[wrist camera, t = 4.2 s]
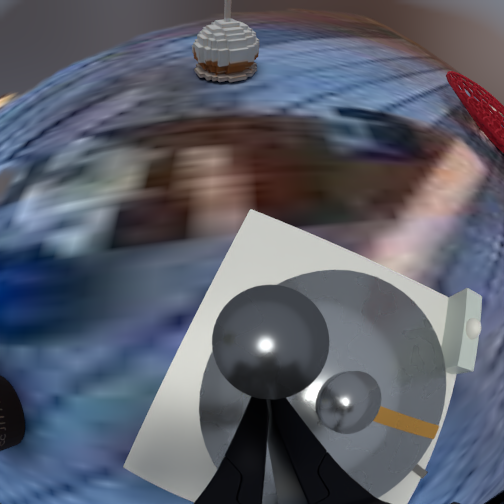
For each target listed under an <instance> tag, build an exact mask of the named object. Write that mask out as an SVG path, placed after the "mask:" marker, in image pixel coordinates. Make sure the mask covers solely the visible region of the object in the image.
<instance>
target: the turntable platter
mask: <svg viewBox="0 0 504 504" xmlns="http://www.w3.org/2000/svg"><path fill="white" fill-rule="evenodd" d="M212 350H213V351H212V353H211V355H210V357H209V360H208V363H207V365H206V368H205V371H204V374H203V379H202V384H201V389H200V399H199V416H200V426H201V431H202V435H203V439H204V443H205V446H206V448H207V451H208V453H209V455H210V457H211V459H212V462H213V463H214V465H215V466H216V468H217V469H218V467H219V466H220V464H221V461H222V459H223V457H225V453H226V451H227V449H228V447H229V445H230V443H231V441H232V438H233V436H234V434H235V432H236V430H237V427H238V425H239V423H240V421H241V418H242V416H243V414H244V412H245V409H246V407H247V405H248V402H249V400H250V398H251V396H252V397H256V398H260V399H282V398H287V399H288V401H289V402H290V403H291V405H292V406H293V407H294V409H295V410H296V411H297V413H298V414H299V415H300V417H301V418H302V419H303V421H304V422H305V423H306V425H307V426H308V427H309V429H310V430H311V431H312V432H313V434H314V435H315V436H316V438H317V439H318V440H319V441H320V443H321V444H322V445H323V446H324V448H325V449H326V450H327V452H329V454H330V455H331V456H332V457H333V459H334V460H335V461H336V462H337V463H338V464H339V465H340V467H341V468H342V469H343V470H344V471H346V472H347V473H348V474H349V475H350V476H351V477H352V478H353V479H354V480H355V481H356V482H358V483H359V484H360V485H361V486H362V487H363V488H365V489H366V490H367V491H368V492H369V493H371V494H372V495H373V496H375V497H376V498H379V497H381V496H382V495H384V494H385V493H387V492H388V491H390V490H391V489H392V488H393V487H395V486H396V485H397V484H399V483H400V482H401V481H402V480H403V479H404V478H405V477H406V476H407V475H408V474H409V473H410V472H411V471H412V470H413V468H414V467H415V466H416V465H417V463H418V462H419V461H420V460H421V458H422V457H423V455H424V454H425V452H426V451H427V449H428V447H429V446H430V444H431V442H432V440H433V439H434V438H435V436H436V433H437V431H438V429H439V423H440V420H441V416H442V412H443V408H444V403H445V395H446V369H445V361H444V357H443V352H442V348H441V345H440V343H439V340H438V337H437V335H436V333H435V331H434V329H433V327H432V325H431V323H430V321H429V320H428V318H427V317H426V315H425V314H424V313H423V311H422V310H421V309H420V308H419V307H418V305H417V304H416V303H415V302H414V301H413V300H412V299H411V298H410V297H408V296H407V295H406V294H405V293H404V292H403V291H401V290H400V289H398V288H396V287H395V286H393V285H392V284H390V283H388V282H386V281H384V280H382V279H380V278H378V277H375V276H371V275H368V274H365V273H361V272H356V271H350V270H322V271H315V272H310V273H306V274H301V275H299V276H296V277H293V278H290V279H287V280H285V281H283V282H281V283H279V284H277V285H261V286H256V287H252V288H249V289H247V290H245V291H243V292H241V293H239V294H238V295H236V296H235V297H234V298H232V299H231V300H230V301H229V302H228V303H227V304H226V305H225V306H224V308H223V309H222V311H221V312H220V314H219V316H218V318H217V320H216V323H215V325H214V329H213V334H212ZM262 504H279V503H278V497H277V492H276V487H275V482H274V476H273V471H272V465H271V460H270V454H269V449H268V442H267V453H266V465H265V477H264V488H263V499H262Z"/></svg>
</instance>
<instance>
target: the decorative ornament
mask: <svg viewBox="0 0 504 504" xmlns="http://www.w3.org/2000/svg"><path fill="white" fill-rule="evenodd" d="M230 17H231V0H225V9H224V20H216V21H215V22H212V25H207V26H206V27H203V30H202V31H201V32H199V34H198V35H197V39H196V40H195V43H193V45H192V53H193V54H194V58H195V59H196V60H197V61H198V64H196V68H195V72H196V74H197V75H198V76H199V77H200V78H202V77H205V78H206V79H207V80H213V81H217V80H218V81H219V82H223V81H229V82H234V81H239V80H245V79H247V77H250V76H253V74H255V72H256V71H257V68H256V67H257V64H256V63H255V62H254V60H255V59H256V58H257V57H258V52H259V39H257V38H256V32H254V31H252V29H251V28H249V27H248V25H246V24H244V23H242V22H237V21H236V20H234V19H230Z"/></svg>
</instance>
